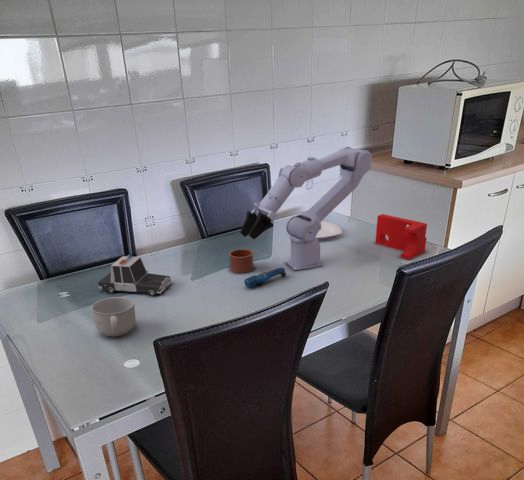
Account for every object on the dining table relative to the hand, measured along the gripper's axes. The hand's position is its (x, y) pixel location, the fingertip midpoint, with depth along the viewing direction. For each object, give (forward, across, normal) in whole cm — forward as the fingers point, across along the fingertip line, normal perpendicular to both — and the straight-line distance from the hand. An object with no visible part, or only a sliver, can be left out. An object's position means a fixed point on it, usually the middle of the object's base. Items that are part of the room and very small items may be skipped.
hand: (246, 236), depth 153 cm
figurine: (+8, +1, +14) cm, 16 cm away
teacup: (+44, +14, -17) cm, 50 cm away
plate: (-24, -31, +32) cm, 51 cm away
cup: (+8, -12, +10) cm, 18 cm away
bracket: (-31, -4, +48) cm, 58 cm away
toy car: (+34, -13, -14) cm, 39 cm away
